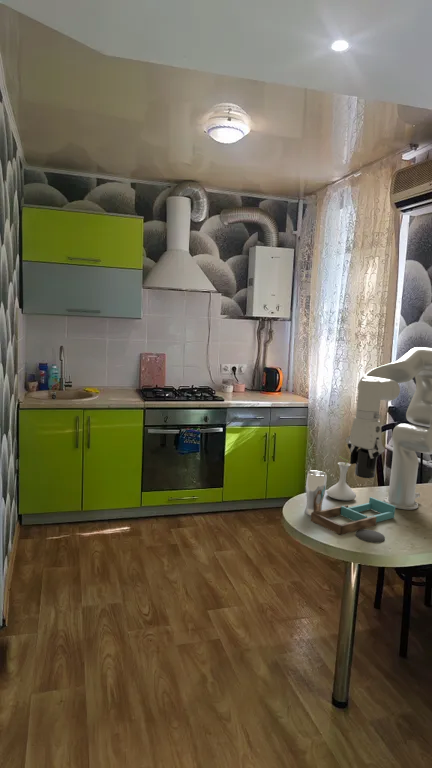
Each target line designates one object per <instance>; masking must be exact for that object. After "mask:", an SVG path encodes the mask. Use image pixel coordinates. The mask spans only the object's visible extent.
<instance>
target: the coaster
mask: <svg viewBox="0 0 432 768" xmlns="http://www.w3.org/2000/svg"><path fill="white" fill-rule="evenodd" d="M355 537H357V538H358V539H360V540H362V541H365V542H367V543H374V544H375V543H377V544H378V543H383V542H384V541H385V539H386V537H385V535H384V534H383V533H381V532H378V531H376V530H372V529H367V528H365V529H361V530H357V531H355Z"/></svg>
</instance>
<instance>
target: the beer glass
mask: <svg viewBox="0 0 432 768" xmlns="http://www.w3.org/2000/svg"><path fill="white" fill-rule="evenodd" d="M306 475H307V477H306V482H305V494H306V506H305V510H304V513H305V515H306V516H309V517H311V513H312V512H316V511H321V510H323V506H322V505H323V500H324V498H325V495H326V491H327V473H326V472H324V471H321V470H315V469H313V470H308V471H307V474H306Z"/></svg>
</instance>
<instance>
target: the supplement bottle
mask: <svg viewBox="0 0 432 768" xmlns="http://www.w3.org/2000/svg"><path fill="white" fill-rule="evenodd" d="M368 458H370V455H369V451H368V450H367V449H363V448H360V449H358V451H357V457H356V463H355V469H354V474H355V476H357V477H360V478H362V479H373V478H375V476H376V470H377V462H378V461H377V460H378V457H377V458H376V464H375V468H374V469H371V470H369V469H367V467H368Z"/></svg>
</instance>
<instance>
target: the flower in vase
mask: <svg viewBox="0 0 432 768" xmlns="http://www.w3.org/2000/svg"><path fill="white" fill-rule="evenodd" d="M345 449H346V451H347V454H348V455H350V456H349V458H348V459H347V458H345V457H342V456H341V455H340V454H339V455H338V457H339V458H340V459H342V460H343V461H345V462H343V461H342V462H337V465H338V468H339V480H338V482H336V484H334V485H332V486H330V487H329V488H328V489H326V494H327V496H329V497H331V498H332V499H334V500H339V501H352V500H354V499H355V498H357V493H355V491H354V490H353V488H352V487H351V486H349V484H348V483H347V480H346V479H347V472H348V470H349V468H350V467H351V464H350V458H351V452H350V449H349V447H348V444H347V443H346V442H345ZM359 449H360V447H359ZM357 451H358V450H357Z"/></svg>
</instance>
